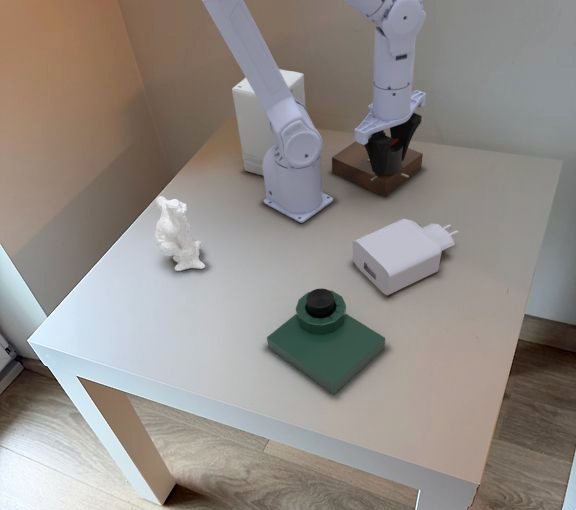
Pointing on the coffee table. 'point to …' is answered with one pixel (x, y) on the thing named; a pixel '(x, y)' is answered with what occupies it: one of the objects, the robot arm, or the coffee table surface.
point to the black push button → (320, 303)
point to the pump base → (326, 344)
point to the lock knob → (394, 158)
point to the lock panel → (358, 169)
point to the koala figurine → (176, 235)
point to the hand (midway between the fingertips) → (388, 165)
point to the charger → (401, 253)
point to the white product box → (259, 120)
